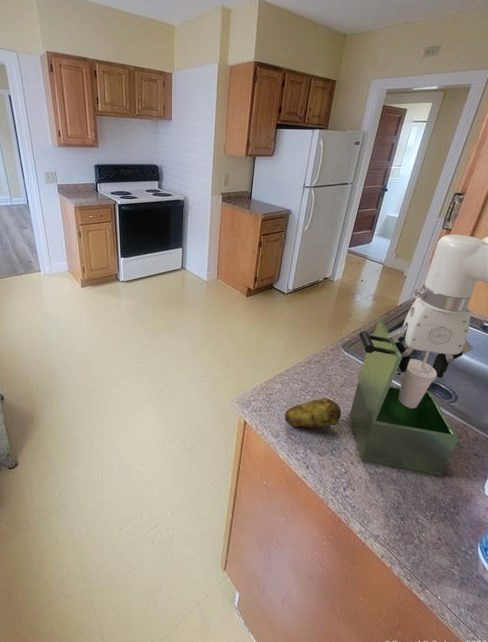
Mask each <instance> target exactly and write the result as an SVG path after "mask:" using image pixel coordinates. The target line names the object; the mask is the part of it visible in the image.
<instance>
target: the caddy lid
mask: <svg viewBox="0 0 488 642" xmlns="http://www.w3.org/2000/svg"><path fill="white" fill-rule="evenodd" d="M389 333H390V332H389V330H388V329H387V327H386V325H385V323H384V321H383V320H381V319H378V321H377V324H376V326H375V329H374V332H373V335H371V334H369V332H367V331H366V330H363V331H362V330H361V331H360V332H359V334H358V337H359V340H360V341H361V344H362V347H363V349H364V351H365V353H366V354H365V356H364V359H363V362H362V365H361V367H360V370H359V373H358V375H357V381H359V384H360V388H361V391H362V394H363V397H364V400H365V403H366V406H367V409H368V412H369V415H370V418H371V421H374V422H375V421H376V419H377V416H378V414H379V411H380V409H381V407H382V404H383V402H384V399H385V397H386V395H387V392H388V390H389V388H390V385H392V383H393V380H394V378H395V376H396V373H397V371H398V368H399V364H400V361H401V359H402V355H401V353H400V352H399V350H398V348H397V346H396V345H395V343H394V341H393V339H389V337H388V334H389Z"/></svg>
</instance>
